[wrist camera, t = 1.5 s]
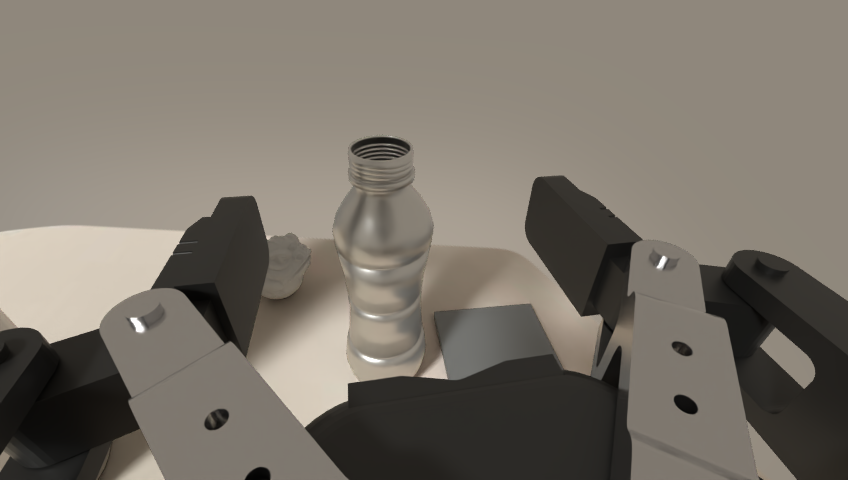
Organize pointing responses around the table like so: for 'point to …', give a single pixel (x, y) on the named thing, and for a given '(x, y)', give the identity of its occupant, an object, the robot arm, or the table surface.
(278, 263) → the grey cupcake
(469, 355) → the charcoal rubber mat
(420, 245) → the plastic bottle
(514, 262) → the table surface
